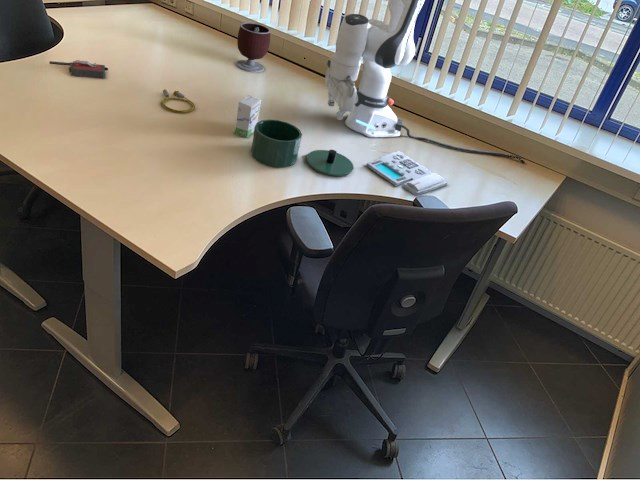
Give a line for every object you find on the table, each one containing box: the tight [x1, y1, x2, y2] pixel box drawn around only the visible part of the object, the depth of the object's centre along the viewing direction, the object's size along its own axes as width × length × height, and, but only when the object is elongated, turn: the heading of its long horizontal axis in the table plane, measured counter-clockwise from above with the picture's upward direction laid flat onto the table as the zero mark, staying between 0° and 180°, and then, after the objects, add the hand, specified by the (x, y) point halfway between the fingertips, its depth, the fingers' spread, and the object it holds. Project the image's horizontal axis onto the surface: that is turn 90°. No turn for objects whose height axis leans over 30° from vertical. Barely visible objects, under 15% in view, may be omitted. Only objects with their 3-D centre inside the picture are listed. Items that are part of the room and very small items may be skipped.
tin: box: [250, 118, 303, 169], centre depth 180 cm, size 15×15×10 cm
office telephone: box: [366, 150, 449, 196], centre depth 192 cm, size 23×3×20 cm
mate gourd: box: [235, 22, 271, 73], centre depth 237 cm, size 16×14×20 cm
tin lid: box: [306, 149, 354, 177], centre depth 185 cm, size 16×16×5 cm
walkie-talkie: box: [48, 59, 109, 79], centre depth 201 cm, size 9×4×20 cm
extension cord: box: [160, 89, 196, 114], centre depth 198 cm, size 12×16×2 cm
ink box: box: [234, 94, 262, 139], centre depth 189 cm, size 8×5×12 cm, turn 162°
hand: (334, 111), depth 176 cm, fingers open, 8 cm apart
